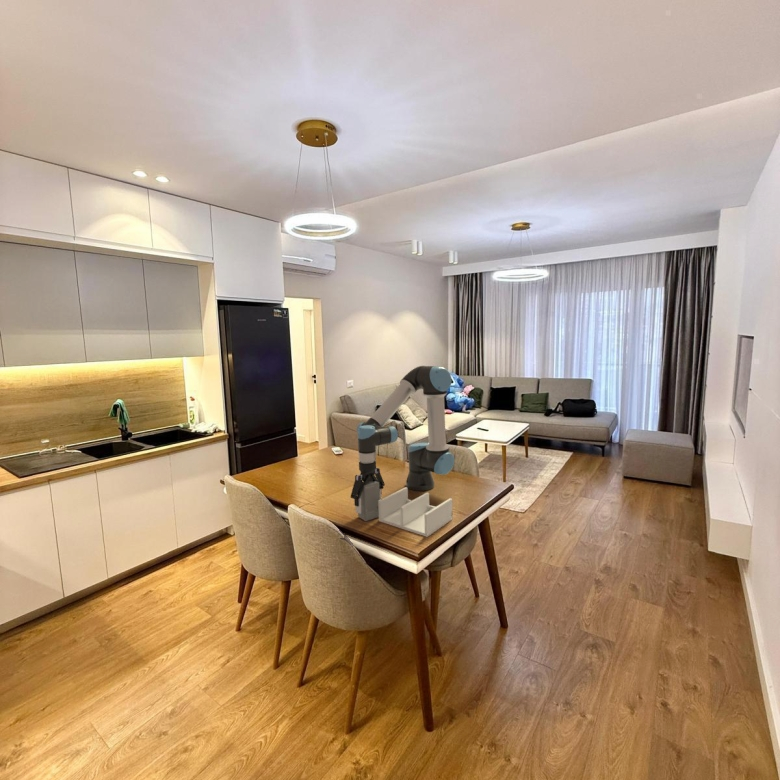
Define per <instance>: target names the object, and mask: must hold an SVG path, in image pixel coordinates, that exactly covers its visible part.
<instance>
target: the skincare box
mask: <svg viewBox="0 0 780 780" xmlns="http://www.w3.org/2000/svg"><path fill="white" fill-rule="evenodd" d="M357 496H358V495H357ZM360 498H361V514H360V513H357V517H358V518H360V519H362V521H364V522H368V521H371V520H374V519H377V518H379V507H378V501H379V500H380V494H379V482H376V481H370V482H368V483H367V484H366V485H364V489H363V491H362V493H361V496H360Z"/></svg>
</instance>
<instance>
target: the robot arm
mask: <svg viewBox="0 0 780 780" xmlns="http://www.w3.org/2000/svg"><path fill="white" fill-rule="evenodd" d="M452 380H453V379H452V375H451V373H450V371H449V370H448V369H447V368H445V367H443V366H438V365H437V366H436V365H433V366H431V365H420V366H419V365H418V366H416V367H414V368H413V369H411V370H410V371H409V372H408V373H406V374H405V375H404V376H403V378H402V379H401V380H400V381H399V385H398V386H397V387H396V388H395V389H394V390H393V391H392V393H390V395H389V396H388V397H387V398H386V399H385V401H383V403H382V404H381V405H380V406H379V407H378V408H377V409H376V411H375V412H374V413H373V414H372V415H371V416H370V417H369V418H368V420H367V421H364V422H363V421H362V422H360V423H358V425H357V426H356V433H357V446H358V461H359V462H358V470H359V472H360V474H356V475H355V476H354V483H353V486H352V490H351V493H350V498H351V499H353V500H354V501H353V502H354V506H355V507H354V508H355V509H354V510H355V513H357V514H358V513H360V514H361V498H360V496H361V493H362V491H363V489H364V485H366V484H367V483H368V482H370V481H376V482H379V494H380V500H381V499H382V493H383V492H382V491H383V489H384V487H385V485H386V484H385V481H384V480H383V477H382V473H381V471H380V470H381V469H380V468H378V467H377V455H376V454H377V453H376V452H377V451H376V450H377V447H379V446H384V445H389V444H392V443H396V442H397V440H398V439H399V432H398V429H397V428H396V427H395V426H394V425H388V426H385V425H386V424H387V423H388V422H389V421H390V419H391V418H392V417H393V416H394V415H395V414H396V412H397V411H398V410H399V409H400V408H401V406H403V405H404V404H405V402H406V401H407V399H409V398H410V396H411V395H414V394H415V393H416V392H418V391H419V390H422V393H423V396H424V397H425V398H426V411H427V412H426V414H427V435H428V436H427V437H428V442H417V443H416V442H415V443H412V444H410V445H409V446H408V452H407V453H408V475H407V477H406V480H405V487H407V488H408V490H412V491H421V492H422V491H423V492H424V491H429V490H431V489H433V488H434V487H435V480H434V477H433V473H434V474H435V475H441V476H445V475H448V474H449V473H450V472H451V471H452V469H453V468H454V466H455V456H454V455H453V453H451V452H450V446H449V444H447V439H446V438H447V436H446V435H447V434H446V413H445V411H446V410H445V396H446V395H448V390H449V389H450V387H451V385H452ZM357 495H358V496H357Z"/></svg>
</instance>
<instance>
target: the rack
mask: <svg viewBox="0 0 780 780" xmlns="http://www.w3.org/2000/svg"><path fill="white" fill-rule="evenodd" d="M408 495H409V488H407V487H406V486H405V487H403V488H401V489H399V490H397V491H395V492H393V493H390V494H388V495H387V496H385V497H382V498H381V500H379V501H378V507H379V517H378V522H380V523H384V524H387V525H390V526H393V527H395V528H399V529H402V530H405V531H408V532H411V533H414V534H417V535H420V536H424V537H426V538H428V537H430V536H431V535H432V534H434V533H435V532H437V531H438V530H439V529H441V528H442V527H444V526H445V525H446V524H447V523H449V522H451V521H452V520H453V498H451V497H450V498H447V500H444V501H443V502H441V503H440V504H438V505H436V506H435V505H430V492H425V493H423V494H422V495H420V496H418V497H416V498H414V499H409V496H408Z"/></svg>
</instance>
